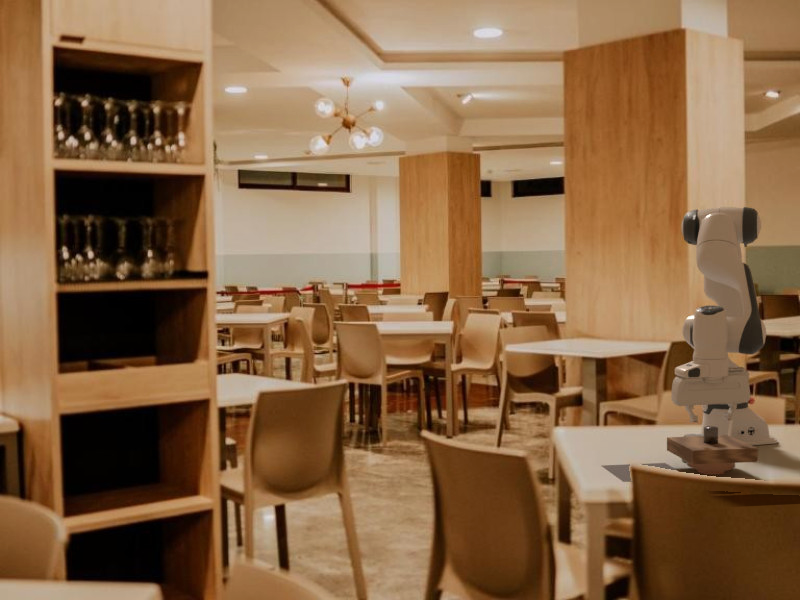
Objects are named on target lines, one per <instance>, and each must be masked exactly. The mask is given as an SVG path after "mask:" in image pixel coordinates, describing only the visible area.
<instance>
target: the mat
mask: <svg viewBox="0 0 800 600" xmlns="http://www.w3.org/2000/svg"><path fill="white" fill-rule="evenodd" d="M641 464H642V465H648V466H655V467H660V468H665V469H671V470H677V471H679V470H678V469H677V468H675V467H673V466H671V465H670V464H668V463H666V462H653V463H641ZM629 466H630V463H629V464H628V463H627V464H607V465H605V464H604V465H603V464H602V465H601V468H603V469H605V470H607V471H608V472H609V473H610V474H612V475H613V476H615V477H616V478H617V479H619V480H620V481H622V482H623V483H624V482H625V483H627V482H632V481H631V478H630V471H629Z"/></svg>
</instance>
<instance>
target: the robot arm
mask: <svg viewBox="0 0 800 600" xmlns="http://www.w3.org/2000/svg"><path fill="white" fill-rule="evenodd" d="M758 213H759V212H758V211H757V209H755V208H752V207H746V206H743V207H735V206H729V207H728V206H727V207H726V206H720V207H714V208H706V209H705V208H704V209H700V210H699V209H693V210H689V211H687V212H686V213H685V214H684V216H683V218H682V221H681V223H680V225H681V226H680V230H681V234H682V237H683V240H684V241H685V243H687V244H689V245H693V246H696V250H695V251H696V255H695V260H696V266H697V268H698V270H699V272H700V273H701V274H702V275H703V292H704V294H705V296H706V297H707V298H708V299H710V300H711V301H712V302H714V303H716V305H704V306H699V307H697V308H696V309H695V310H694V314H690V315H689V316H688V317H686V319H685V320H684V322H683V324H682V336H683V338H684V340H685V342H686V343H687V344H688V345H689V346H691V348H692V349H693V353H692V360H691V361H689V362H687V363H684V364H681V365H679V366H676V367H674V374H675V375H676V376H675V377H674V378H673V380H672V383H671V384H672V385H671V401H672V403H673V404H674V405H676V406H678V407H684V406H685V407H684V408H685V410H686V412H687V413H688V415H689V421H690V423H698V422H699V420H698V419H699V416H698V415H697V414H694V412H693V410H694V409H695V408H694V407H695V406H702V413H703V414H702V424H701V430H700V433H699V434H704V427H705V426H714V427H718V436H720V435H728V436H730V437H733V438H735V439H737V440H740V441H742V442H744V443H747V444H749V445H751V446H759V445H774V444H777V443H778V439H777V437H775V436H774V435H771V434H770V430H769V425H768V423H767V421H766V420H765V419H764V418H763V417H762V416H760V415H759V414H758V413H756V412H755V411H754V410H752V409H751V408H750V407H749V404H750V405H754V404H755V403H756V402H755V401H756V400H755V398H754V397H751V389H750V388H751V387H750V382H749V381H750V372H749V370H748V369H746V368H744V367H743V366H742V367H741V366H739V365H738V364H737V363H736V362H734V361H732V360H731V358H730V357H729V353H732V354H733V353H734V354H736V353H738V354H743V355H744V354H745V355H754V354H757V353H758V352H759V351H760V350H761V349H762V348H763V347H764V346H765V343H766V337H767V328H766V325H765V323H764V321H763V320H762V319H761V315H760V311H759V303H758V300H757V294H756V293H757V292H756V287H755V283H754V279H753V274H752V271H751V268H750V266H749V265H748V264H747V263H745V262H743V256H742V248H741V244H743V245H744V248H747V247H748V245H749V244H752V243H754V242H755V241H756V240H757V239H758V238H759V237H758V236H759V235H760V232H761V230H762V229H761V228H762V221H761V217H760V215H759V214H758Z"/></svg>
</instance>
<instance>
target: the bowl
mask: <svg viewBox="0 0 800 600" xmlns="http://www.w3.org/2000/svg"><path fill="white" fill-rule="evenodd" d="M686 465H687V466H688V467H689V468H691V469H692V468H693V469H696V472H698V473H700V474H705V475H722V474H725V473H726V471H729V470H730V471H731V470H733V469H736V463H717V464H691V463H689V462H688V461H687V463H686Z"/></svg>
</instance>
